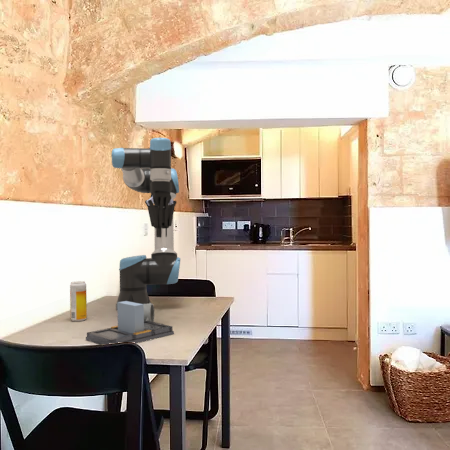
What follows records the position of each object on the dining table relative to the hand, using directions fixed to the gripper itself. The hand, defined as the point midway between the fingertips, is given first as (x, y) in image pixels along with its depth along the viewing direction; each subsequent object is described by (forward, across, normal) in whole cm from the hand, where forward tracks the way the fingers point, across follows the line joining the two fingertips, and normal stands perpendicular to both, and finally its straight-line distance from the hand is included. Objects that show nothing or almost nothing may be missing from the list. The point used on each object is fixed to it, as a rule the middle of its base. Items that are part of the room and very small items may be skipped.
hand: (161, 246), depth 167 cm
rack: (+29, -16, -3) cm, 34 cm away
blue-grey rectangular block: (+28, -16, -3) cm, 33 cm away
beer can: (+30, -14, +35) cm, 48 cm away
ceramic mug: (+30, -2, +9) cm, 31 cm away
